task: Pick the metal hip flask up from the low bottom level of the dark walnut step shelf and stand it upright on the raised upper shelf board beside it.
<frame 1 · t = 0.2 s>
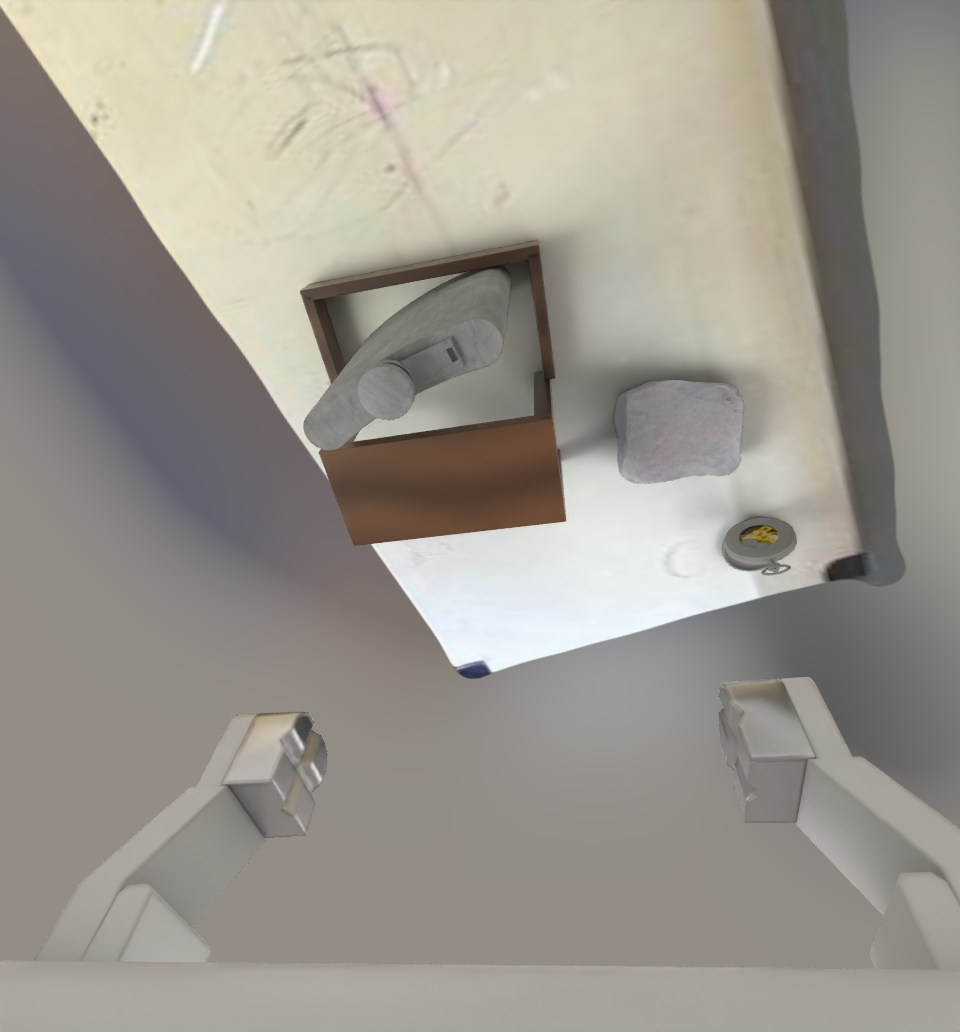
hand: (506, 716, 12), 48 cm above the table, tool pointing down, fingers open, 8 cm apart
hip flask: (431, 313, 55), on the table
pocket watch: (751, 532, 65), on the table
shelf stand: (447, 386, 58), on the table
stone block: (674, 418, 59), on the table
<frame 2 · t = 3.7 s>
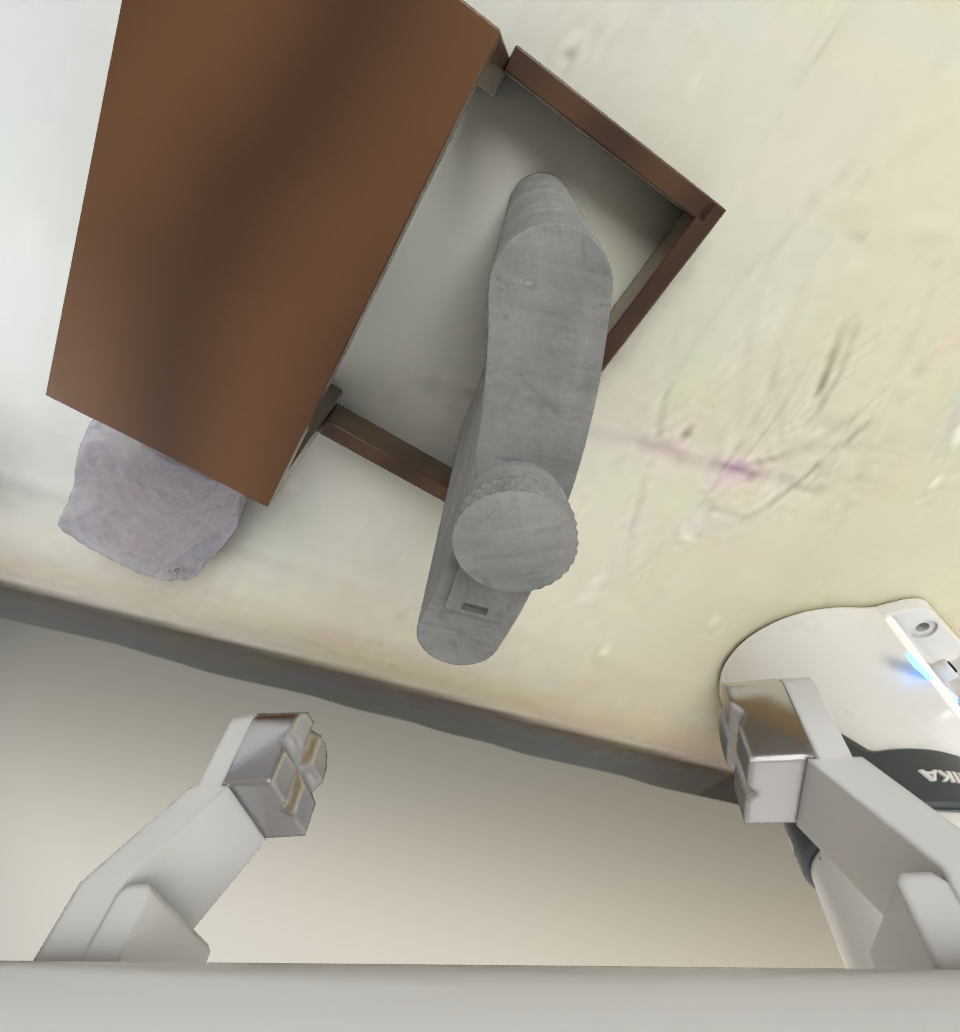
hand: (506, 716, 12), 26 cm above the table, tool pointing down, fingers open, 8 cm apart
hip flask: (518, 333, 33), on the table
shelf stand: (408, 263, 32), on the table
stone block: (176, 486, 41), on the table
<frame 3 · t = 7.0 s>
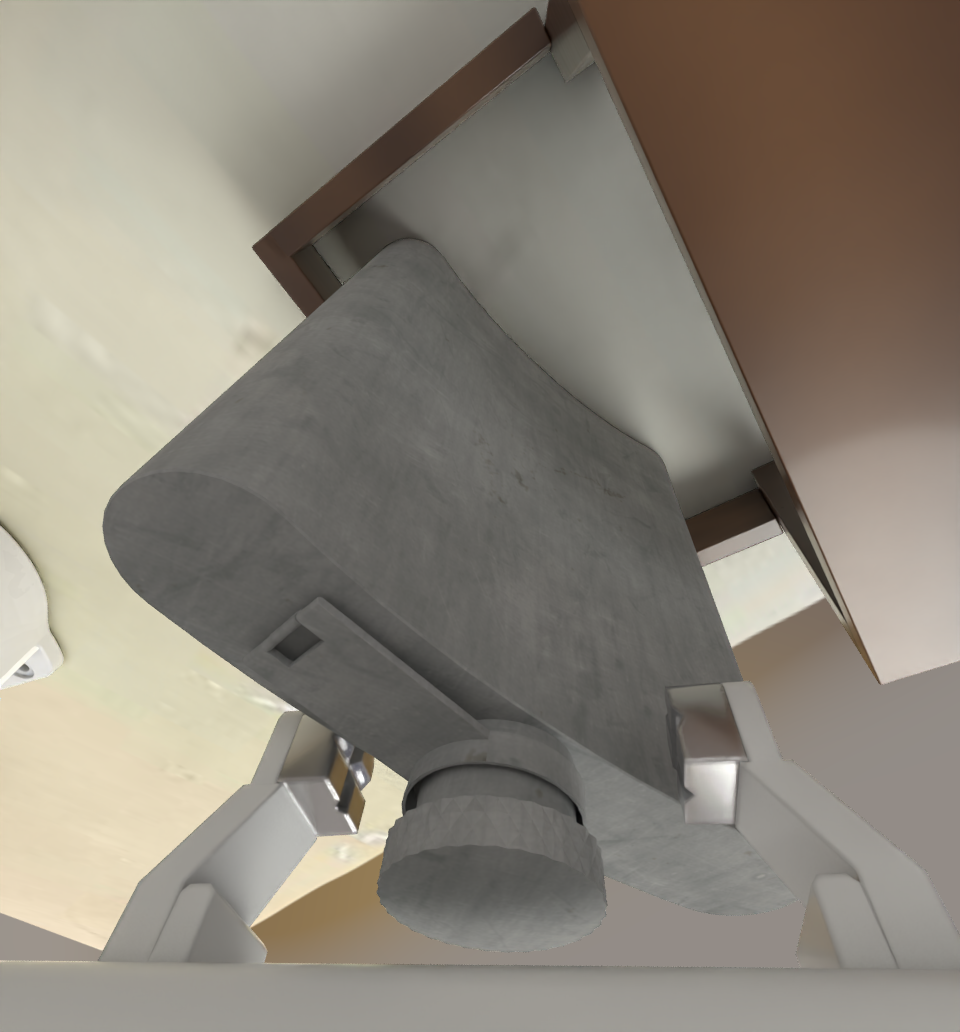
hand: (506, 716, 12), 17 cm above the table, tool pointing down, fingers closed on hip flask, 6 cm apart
hip flask: (523, 392, 26), on the table, touching gripper
shelf stand: (672, 307, 23), on the table
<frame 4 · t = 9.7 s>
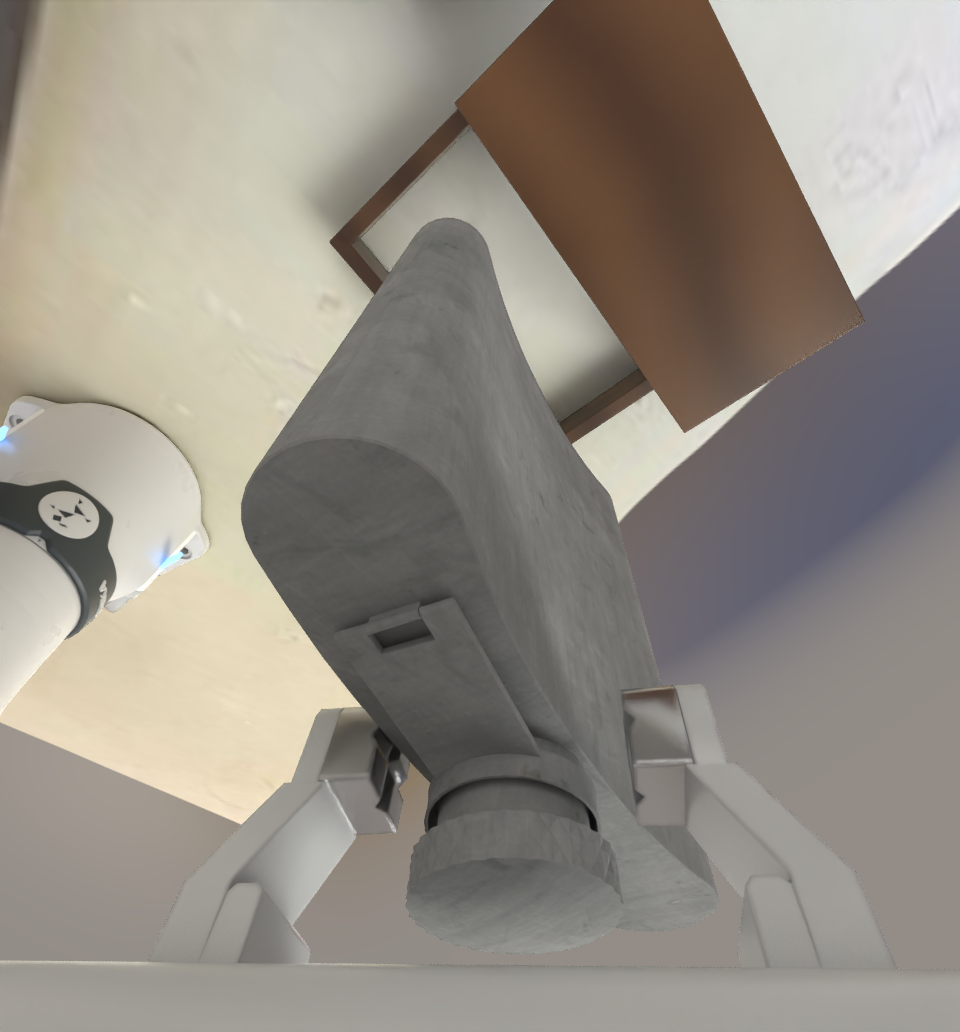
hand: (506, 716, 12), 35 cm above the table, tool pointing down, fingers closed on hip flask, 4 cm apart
hip flask: (513, 402, 26), point 18 cm above the table, touching gripper
shelf stand: (572, 251, 39), on the table
when the fingers open (28 cm above the table, at t = 12.8 s): hip flask stays where it is, resting on shelf stand.
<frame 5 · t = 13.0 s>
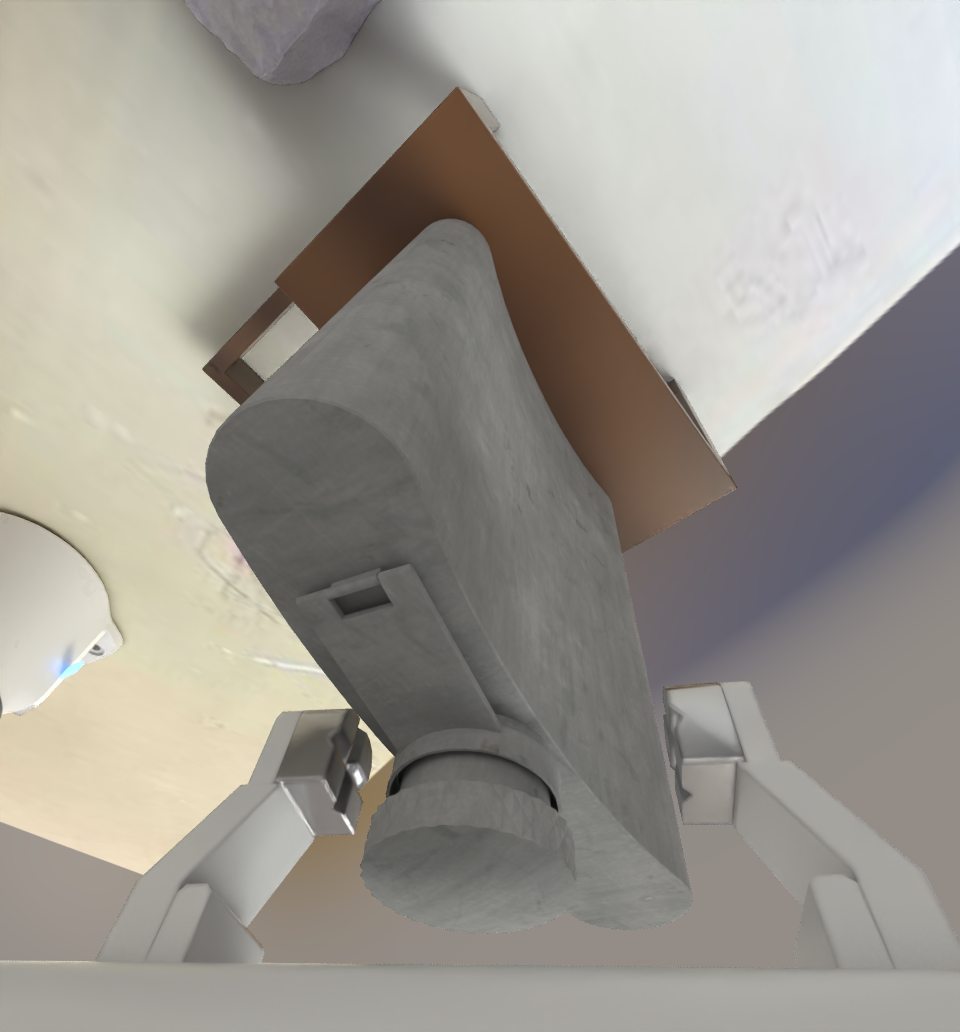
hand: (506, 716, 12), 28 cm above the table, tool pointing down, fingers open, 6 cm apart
hip flask: (513, 403, 26), point 11 cm above the table, touching shelf stand
shelf stand: (461, 372, 37), on the table
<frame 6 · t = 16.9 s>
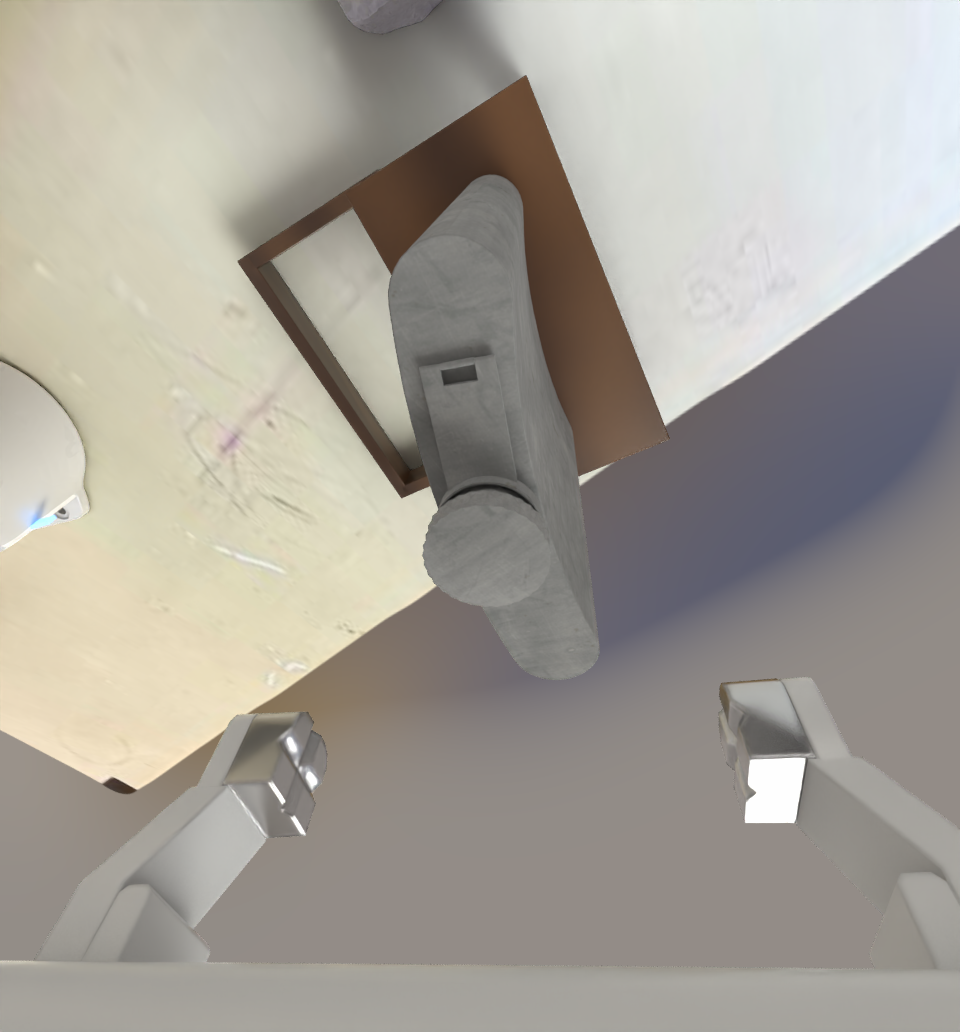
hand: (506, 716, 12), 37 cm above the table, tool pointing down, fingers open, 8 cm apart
hip flask: (514, 336, 33), point 11 cm above the table, touching shelf stand
shelf stand: (463, 314, 43), on the table
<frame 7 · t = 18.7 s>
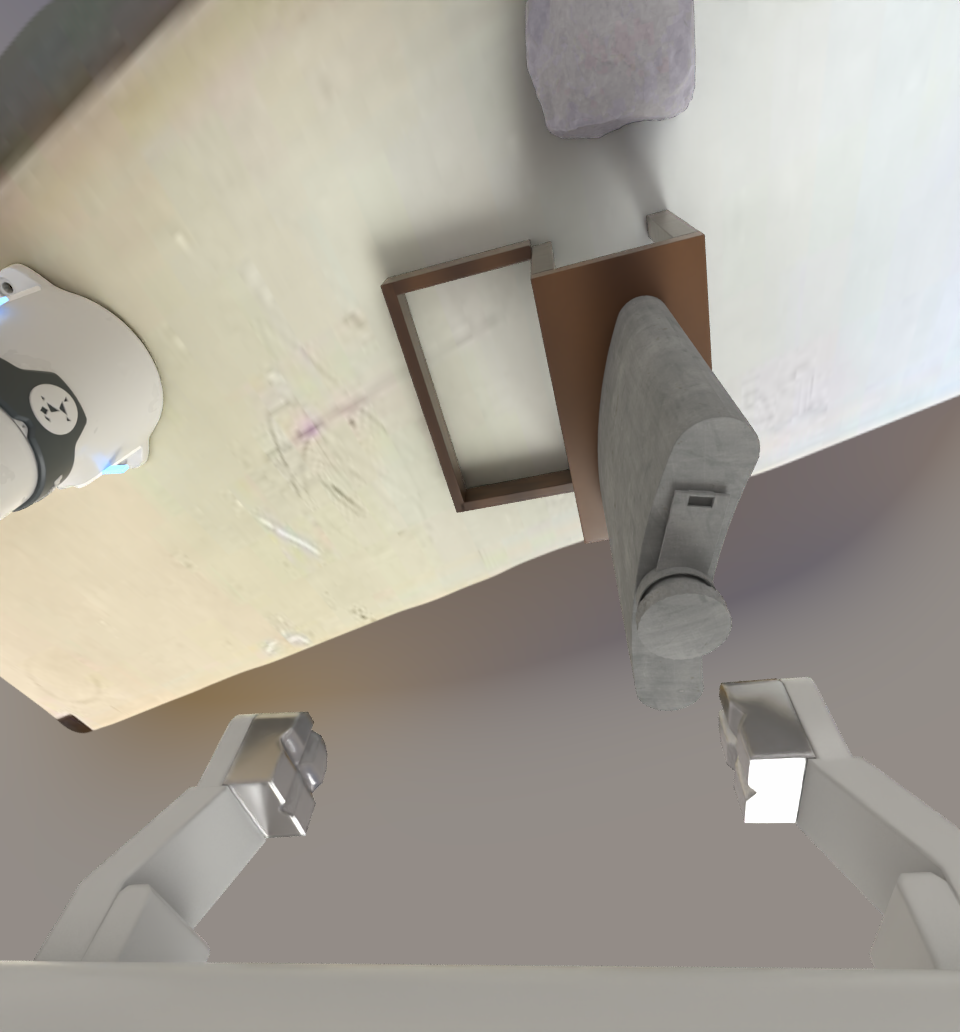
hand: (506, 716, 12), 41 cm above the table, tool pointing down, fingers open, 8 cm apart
hip flask: (625, 417, 40), point 11 cm above the table, touching shelf stand
shelf stand: (556, 371, 50), on the table
stone block: (601, 24, 37), on the table
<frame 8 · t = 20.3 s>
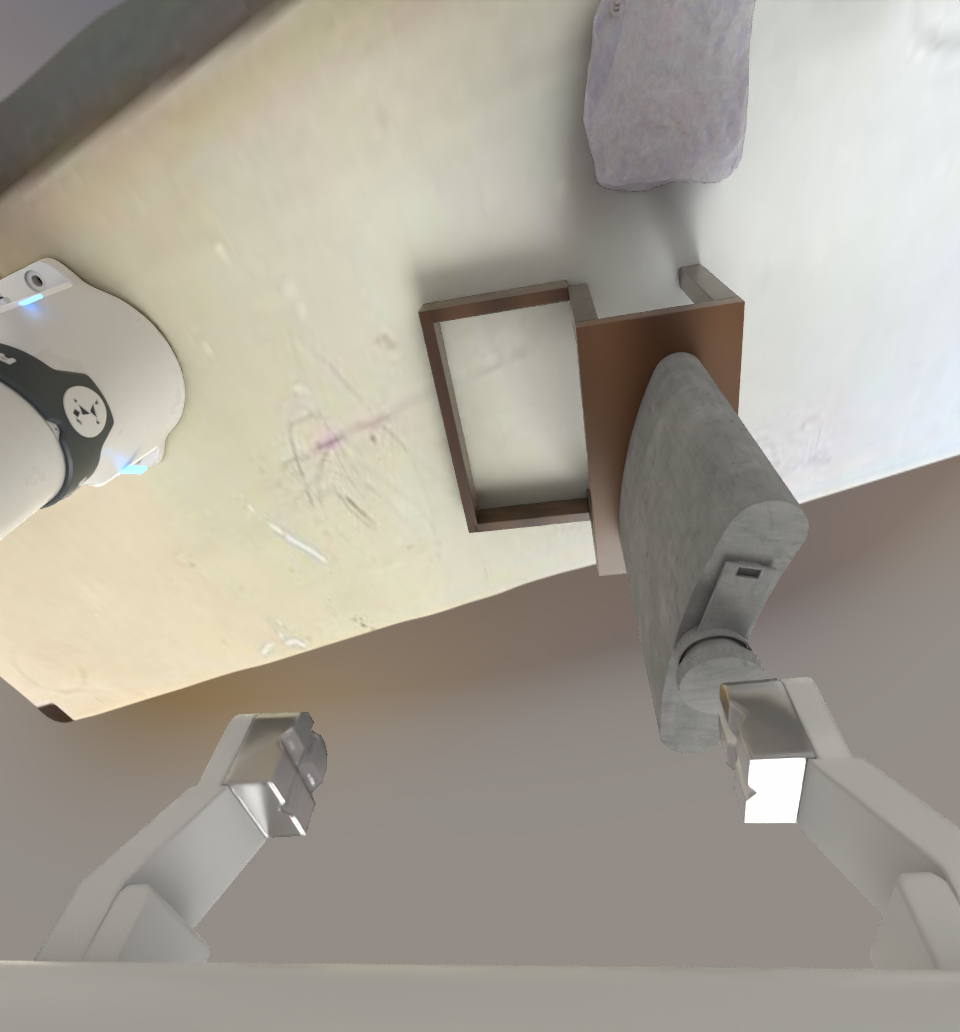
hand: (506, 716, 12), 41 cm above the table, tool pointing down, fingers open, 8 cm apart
hip flask: (650, 461, 42), point 11 cm above the table, touching shelf stand
shelf stand: (578, 405, 51), on the table
stone block: (656, 87, 39), on the table
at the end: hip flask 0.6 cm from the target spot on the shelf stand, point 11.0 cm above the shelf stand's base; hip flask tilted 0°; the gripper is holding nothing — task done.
